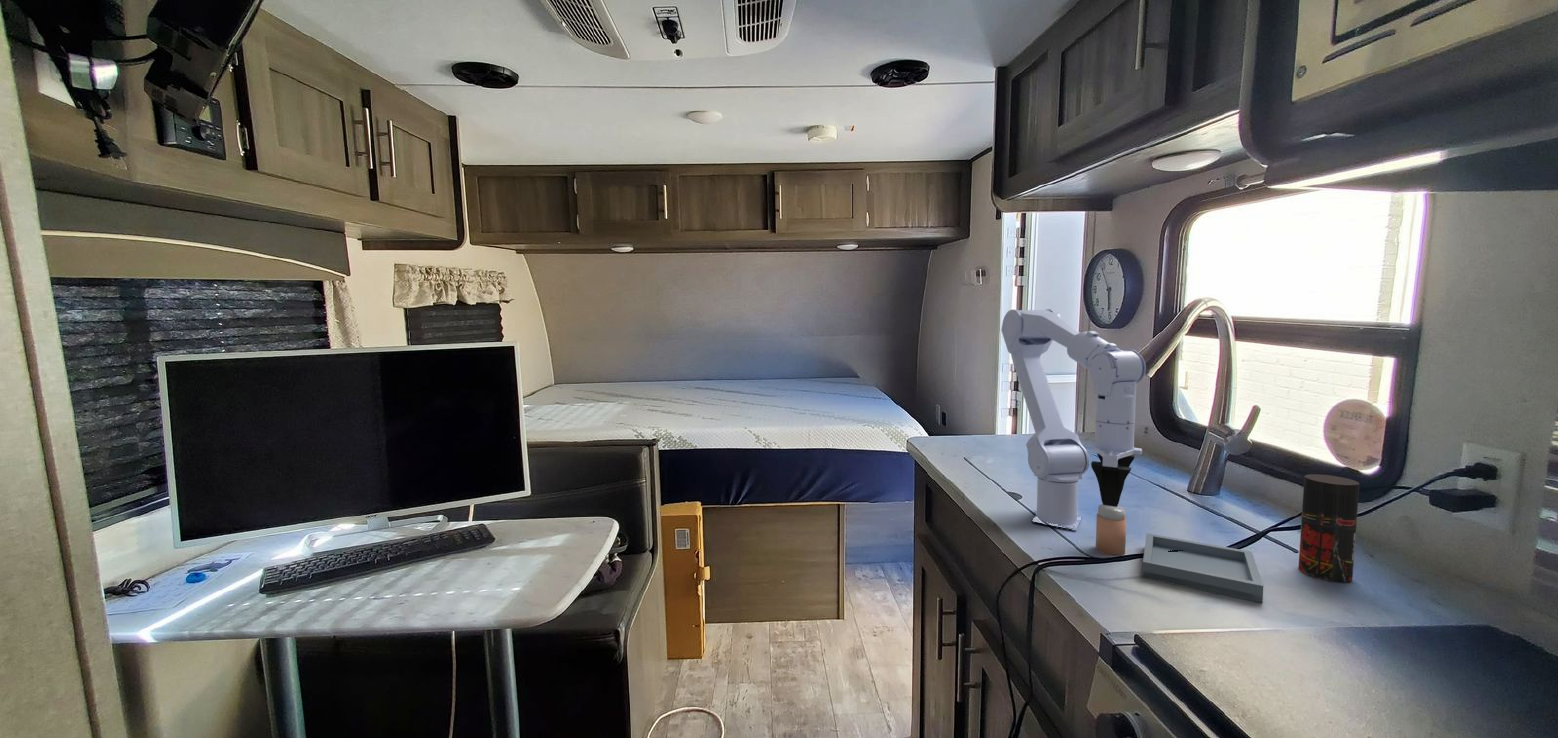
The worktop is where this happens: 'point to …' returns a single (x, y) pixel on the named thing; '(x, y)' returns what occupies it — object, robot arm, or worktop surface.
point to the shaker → (1111, 530)
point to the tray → (1202, 567)
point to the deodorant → (1328, 527)
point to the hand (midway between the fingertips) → (1112, 499)
